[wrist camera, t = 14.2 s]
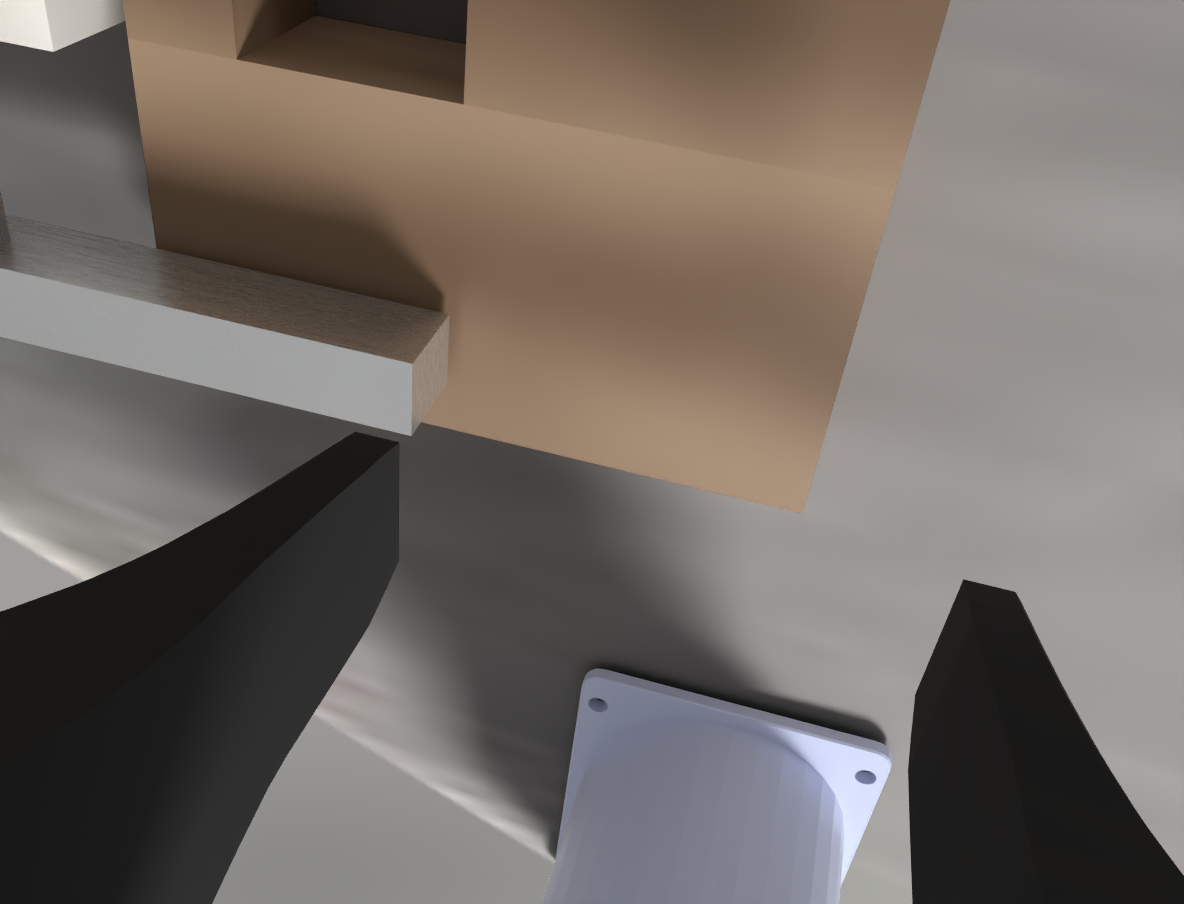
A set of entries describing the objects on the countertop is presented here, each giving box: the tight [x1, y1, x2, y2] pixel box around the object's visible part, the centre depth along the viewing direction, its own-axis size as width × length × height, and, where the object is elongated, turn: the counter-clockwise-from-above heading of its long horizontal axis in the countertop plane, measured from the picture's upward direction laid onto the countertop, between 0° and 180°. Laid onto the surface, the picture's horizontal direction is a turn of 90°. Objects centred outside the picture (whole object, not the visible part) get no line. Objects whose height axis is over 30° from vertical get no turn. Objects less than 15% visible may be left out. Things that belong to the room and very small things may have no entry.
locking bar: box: [0, 193, 450, 436], centre depth 19 cm, size 5×11×2 cm, turn 84°
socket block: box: [123, 0, 950, 513], centre depth 19 cm, size 12×13×3 cm
